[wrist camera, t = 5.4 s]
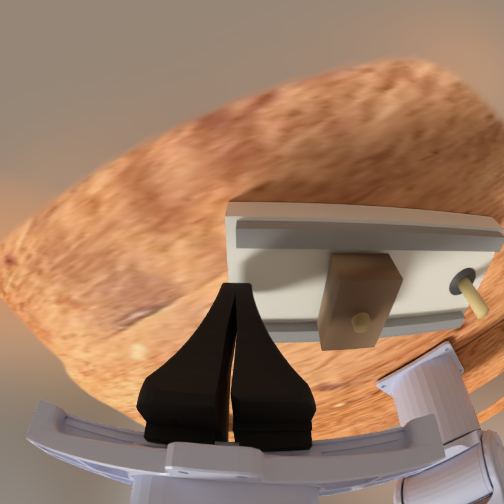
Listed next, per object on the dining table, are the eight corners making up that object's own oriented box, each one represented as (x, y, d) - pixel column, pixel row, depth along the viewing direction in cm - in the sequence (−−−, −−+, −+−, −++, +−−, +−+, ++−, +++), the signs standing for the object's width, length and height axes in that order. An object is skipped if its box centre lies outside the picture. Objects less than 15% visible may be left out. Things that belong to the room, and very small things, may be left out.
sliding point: (388, 253, 13) (407, 286, 11) (365, 320, 16) (376, 354, 14) (331, 253, 13) (343, 288, 11) (316, 322, 16) (323, 358, 14)
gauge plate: (491, 217, 14) (531, 256, 10) (451, 308, 18) (474, 351, 15) (227, 201, 14) (217, 254, 10) (233, 317, 19) (229, 375, 15)
